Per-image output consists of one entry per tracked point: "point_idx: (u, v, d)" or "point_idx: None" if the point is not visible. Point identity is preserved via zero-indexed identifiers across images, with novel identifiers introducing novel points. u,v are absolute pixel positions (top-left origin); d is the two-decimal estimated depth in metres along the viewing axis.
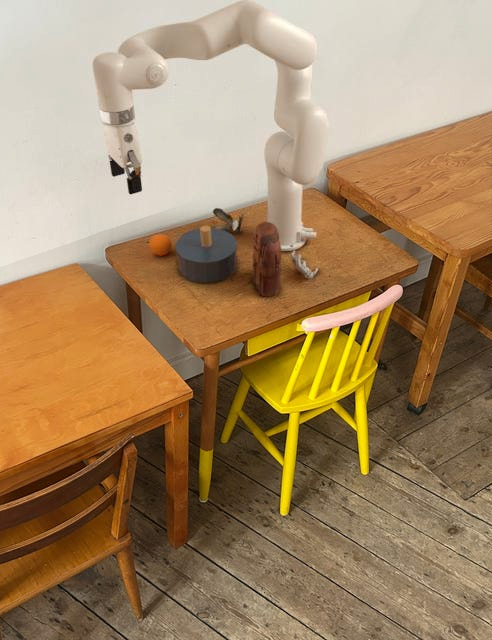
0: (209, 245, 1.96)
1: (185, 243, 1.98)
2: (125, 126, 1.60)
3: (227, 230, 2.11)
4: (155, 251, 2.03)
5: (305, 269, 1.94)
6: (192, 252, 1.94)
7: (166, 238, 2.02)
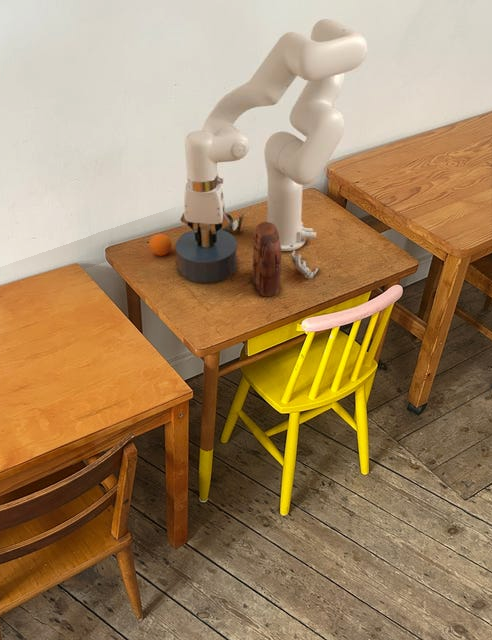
0: (209, 245, 1.96)
1: (185, 243, 1.98)
2: (218, 187, 1.85)
3: (227, 230, 2.11)
4: (155, 251, 2.03)
5: (305, 269, 1.94)
6: (192, 252, 1.94)
7: (166, 238, 2.02)
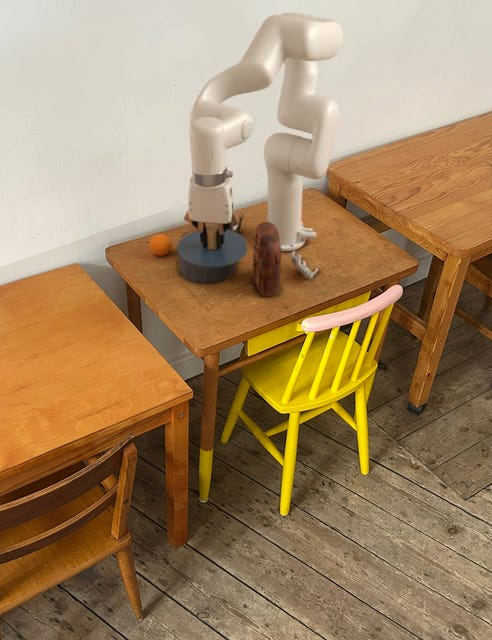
0: (216, 247, 1.75)
1: (189, 245, 1.76)
2: (227, 182, 1.64)
3: None
4: (155, 251, 2.03)
5: (305, 269, 1.94)
6: (197, 255, 1.73)
7: (166, 238, 2.02)
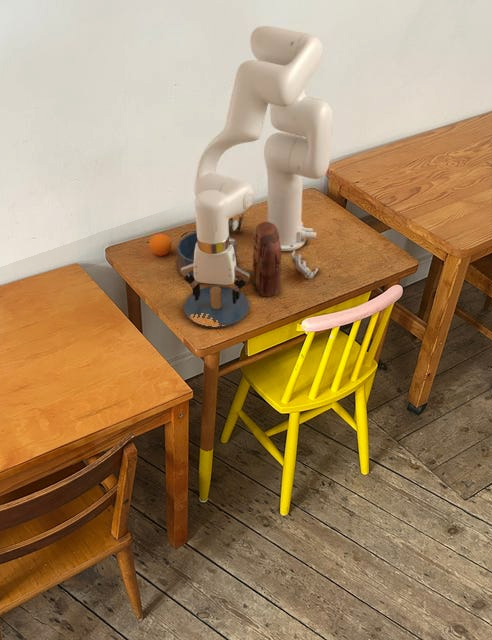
0: (219, 306, 1.86)
1: (194, 304, 1.88)
2: (230, 248, 1.75)
3: None
4: (155, 251, 2.03)
5: (305, 269, 1.94)
6: None
7: (166, 238, 2.02)
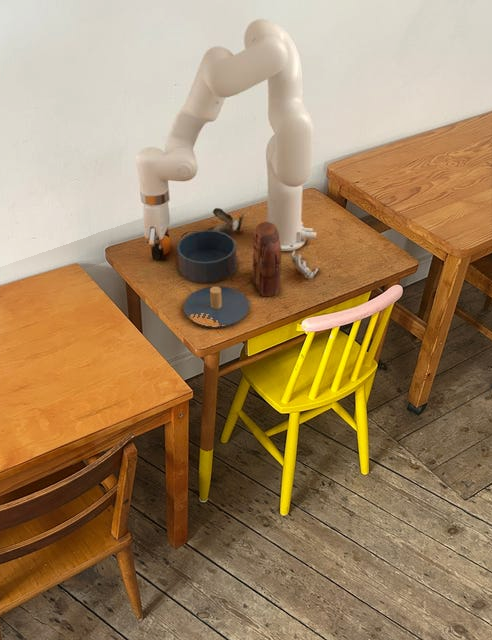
0: (219, 306, 1.86)
1: (194, 304, 1.88)
2: None
3: (227, 230, 2.11)
4: None
5: (305, 269, 1.94)
6: None
7: (166, 238, 2.02)
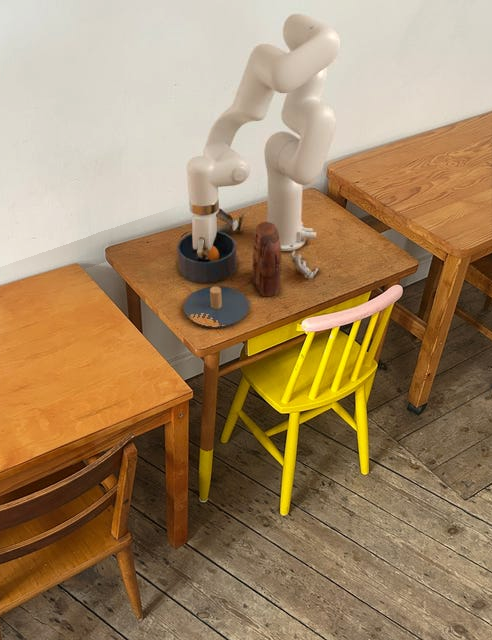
0: (219, 306, 1.86)
1: (194, 304, 1.88)
2: None
3: (227, 230, 2.11)
4: None
5: (305, 269, 1.94)
6: None
7: (215, 250, 1.98)
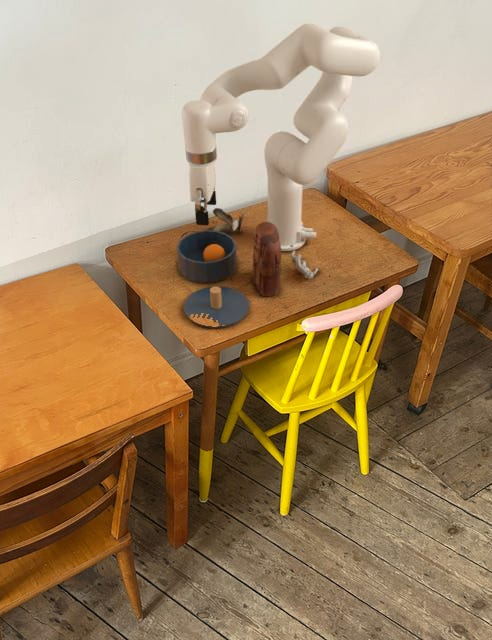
0: (219, 306, 1.86)
1: (194, 304, 1.88)
2: None
3: (227, 230, 2.11)
4: (209, 259, 1.97)
5: (305, 269, 1.94)
6: None
7: None
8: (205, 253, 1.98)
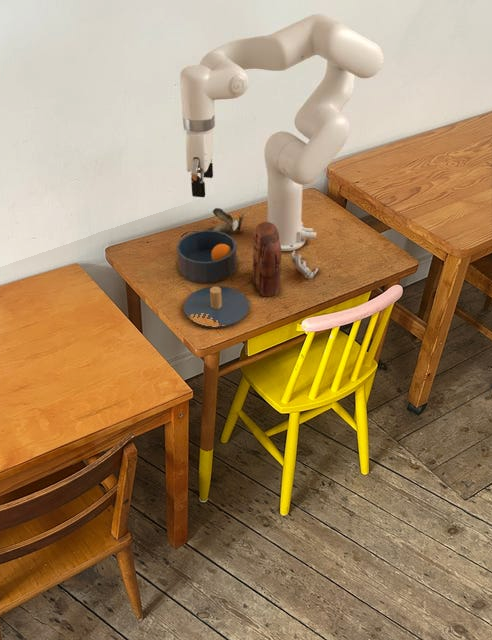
0: (219, 306, 1.86)
1: (194, 304, 1.88)
2: None
3: (227, 230, 2.11)
4: (220, 256, 1.97)
5: (305, 269, 1.94)
6: None
7: None
8: (218, 249, 1.97)
